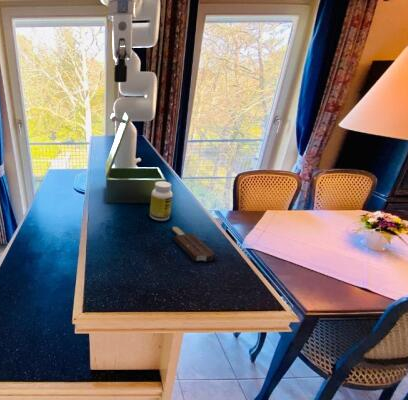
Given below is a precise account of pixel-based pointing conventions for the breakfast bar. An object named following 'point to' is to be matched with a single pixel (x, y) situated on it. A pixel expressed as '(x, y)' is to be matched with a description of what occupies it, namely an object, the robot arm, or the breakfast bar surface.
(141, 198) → the bin
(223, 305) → the breakfast bar surface
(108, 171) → the bin lid
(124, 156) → the robot arm
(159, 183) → the pill bottle
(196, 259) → the ice cream bar
